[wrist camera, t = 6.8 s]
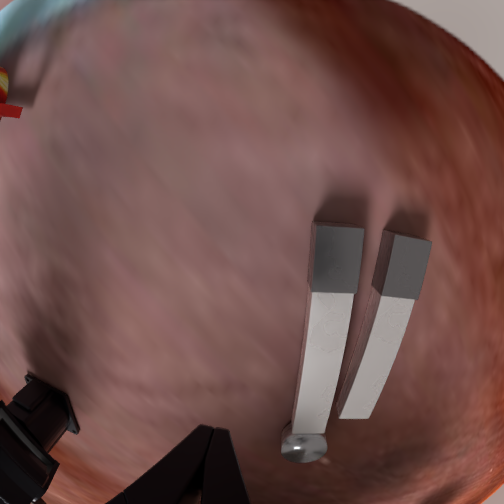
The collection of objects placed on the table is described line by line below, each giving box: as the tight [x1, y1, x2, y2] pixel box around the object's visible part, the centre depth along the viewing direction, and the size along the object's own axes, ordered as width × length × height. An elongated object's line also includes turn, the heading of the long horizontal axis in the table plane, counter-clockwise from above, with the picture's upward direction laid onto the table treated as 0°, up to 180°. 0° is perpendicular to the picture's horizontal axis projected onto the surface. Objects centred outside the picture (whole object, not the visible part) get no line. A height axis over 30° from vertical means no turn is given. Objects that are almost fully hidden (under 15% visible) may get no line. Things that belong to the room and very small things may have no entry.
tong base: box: [336, 230, 432, 419], centre depth 17 cm, size 14×3×2 cm, turn 173°
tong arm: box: [281, 221, 364, 463], centre depth 18 cm, size 19×4×2 cm, turn 178°
